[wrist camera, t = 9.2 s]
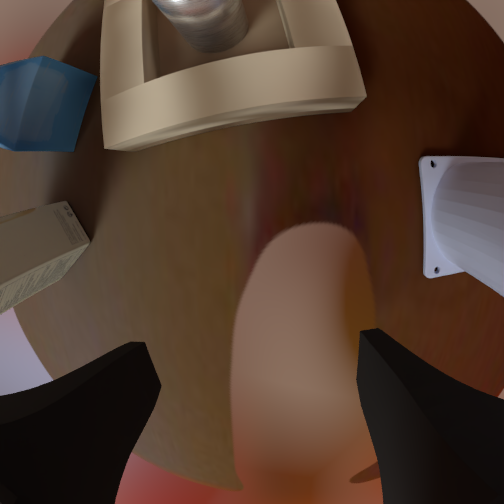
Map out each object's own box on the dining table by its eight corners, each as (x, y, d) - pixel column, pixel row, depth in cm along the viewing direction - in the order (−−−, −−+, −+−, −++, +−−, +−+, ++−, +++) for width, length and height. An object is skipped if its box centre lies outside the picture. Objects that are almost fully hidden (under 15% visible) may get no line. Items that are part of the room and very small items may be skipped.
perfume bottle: (73, 151, 17) (-59, 157, 5) (33, 141, 17) (-75, 147, 5) (97, 76, 15) (-25, 37, 4) (52, 76, 15) (-50, 55, 4)
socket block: (301, -39, 11) (302, -66, 7) (350, 111, 14) (366, 96, 11) (127, 3, 13) (106, -16, 10) (134, 151, 16) (104, 148, 13)
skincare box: (67, 198, 18) (-64, 230, 6) (93, 242, 18) (-38, 304, 7) (36, 243, 19) (-67, 287, 8) (59, 282, 20) (-42, 344, 8)
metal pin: (244, 2, 12) (222, -67, 5) (252, 46, 13) (231, -23, 6) (184, 15, 12) (140, -42, 6) (188, 60, 13) (135, 6, 7)
